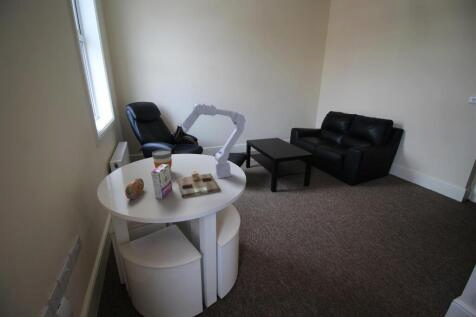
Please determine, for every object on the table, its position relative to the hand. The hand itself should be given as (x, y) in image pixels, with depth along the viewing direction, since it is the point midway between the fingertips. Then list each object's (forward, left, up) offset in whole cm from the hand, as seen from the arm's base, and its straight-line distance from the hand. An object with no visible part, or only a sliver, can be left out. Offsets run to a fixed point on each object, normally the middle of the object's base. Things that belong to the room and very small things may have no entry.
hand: (175, 138), depth 130 cm
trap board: (-9, +10, -28) cm, 32 cm away
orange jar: (+9, -19, -29) cm, 35 cm away
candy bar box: (+11, +13, -29) cm, 33 cm away
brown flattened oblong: (+26, +8, -29) cm, 39 cm away
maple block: (-9, +3, -26) cm, 28 cm away
